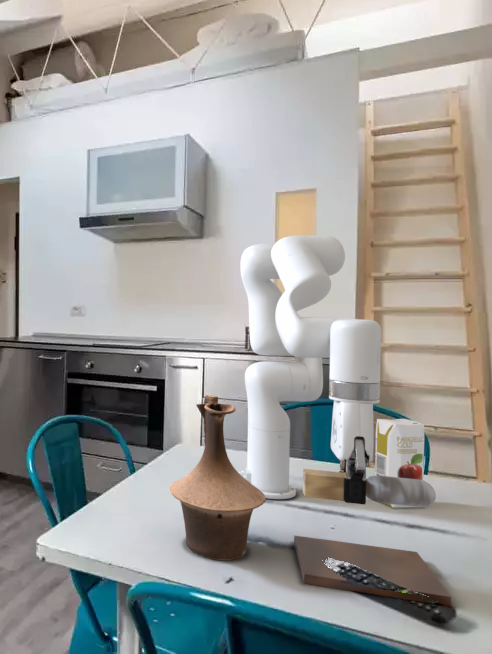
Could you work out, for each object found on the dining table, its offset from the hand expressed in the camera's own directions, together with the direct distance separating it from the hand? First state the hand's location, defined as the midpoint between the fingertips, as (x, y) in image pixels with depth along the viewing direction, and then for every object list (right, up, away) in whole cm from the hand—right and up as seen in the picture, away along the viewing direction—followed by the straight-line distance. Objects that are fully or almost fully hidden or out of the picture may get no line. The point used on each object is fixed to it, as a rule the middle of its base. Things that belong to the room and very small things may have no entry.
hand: (351, 497), depth 93 cm
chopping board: (+2, -12, -1) cm, 12 cm away
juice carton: (+29, -12, +32) cm, 45 cm away
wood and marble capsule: (+2, 0, -1) cm, 3 cm away
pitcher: (-21, -12, +8) cm, 25 cm away
